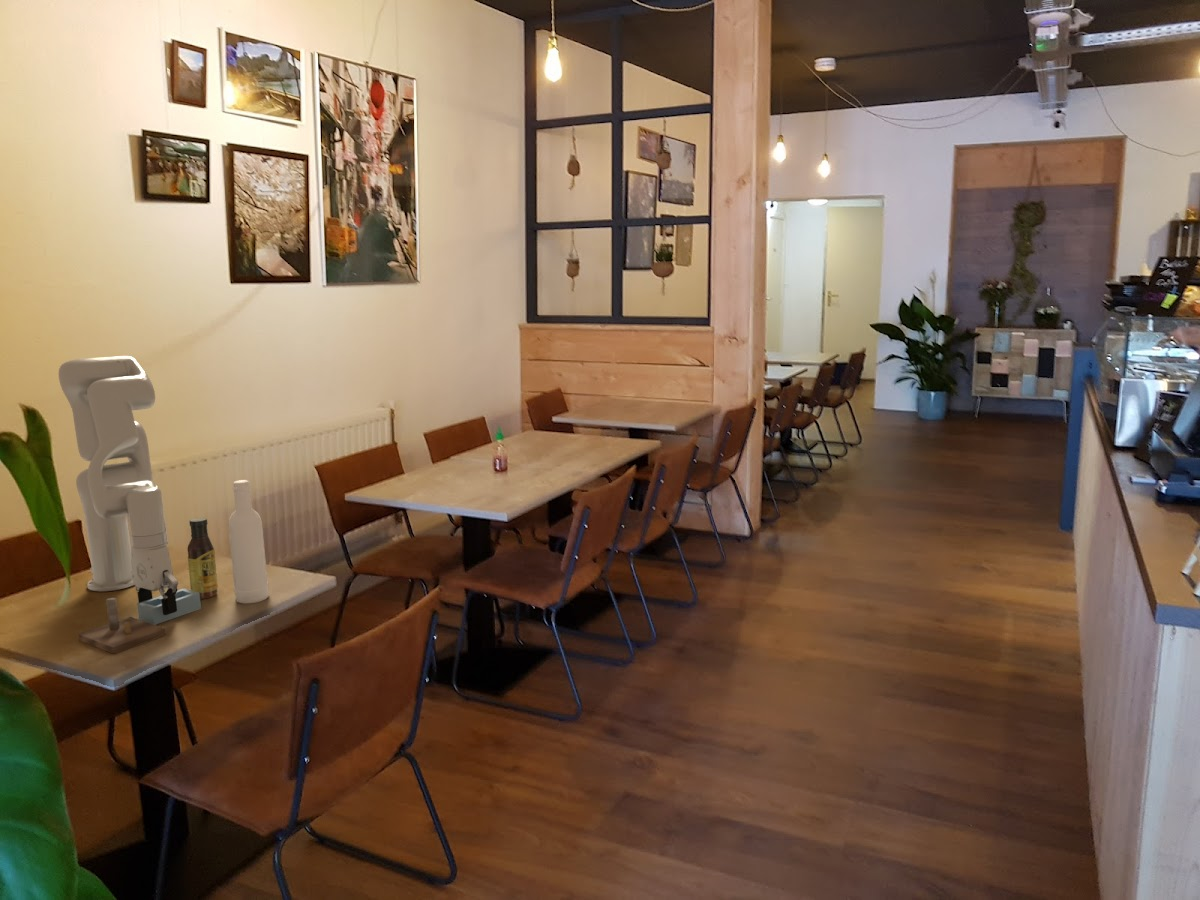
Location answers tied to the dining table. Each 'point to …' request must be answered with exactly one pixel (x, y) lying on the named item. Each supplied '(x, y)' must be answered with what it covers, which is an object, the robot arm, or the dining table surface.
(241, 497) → the bottle
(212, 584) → the sauce bottle
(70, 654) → the dining table surface
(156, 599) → the hollow blue brick
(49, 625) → the dining table surface
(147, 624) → the post block
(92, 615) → the dining table surface
